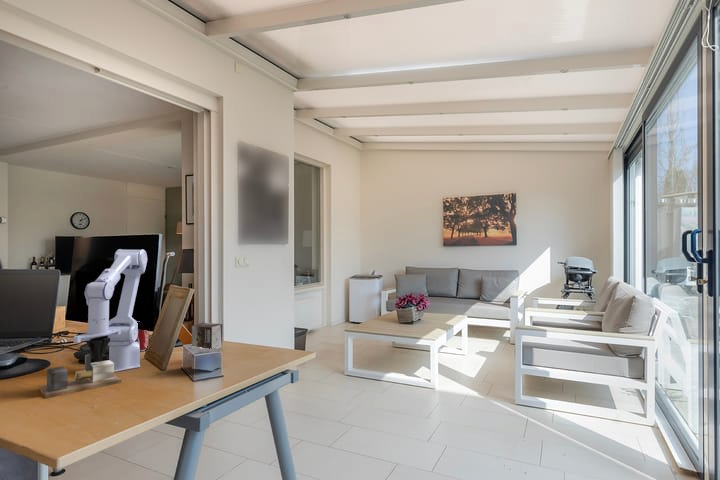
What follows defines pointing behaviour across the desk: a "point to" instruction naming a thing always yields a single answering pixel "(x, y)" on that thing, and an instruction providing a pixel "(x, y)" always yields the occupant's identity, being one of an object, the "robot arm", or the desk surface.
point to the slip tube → (87, 372)
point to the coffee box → (207, 335)
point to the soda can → (142, 339)
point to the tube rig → (61, 386)
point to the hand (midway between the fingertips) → (97, 360)
